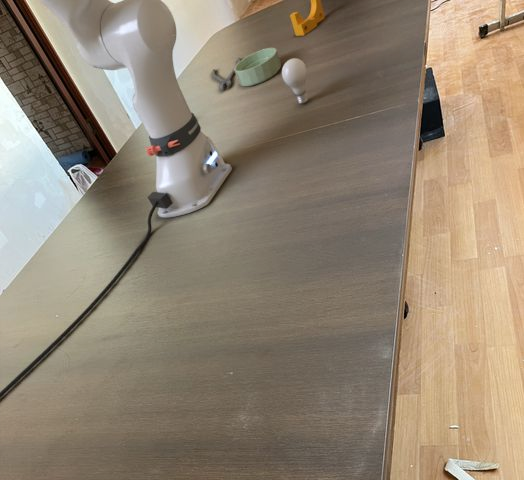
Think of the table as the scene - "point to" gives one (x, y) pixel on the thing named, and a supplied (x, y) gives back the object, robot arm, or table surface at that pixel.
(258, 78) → the bowl
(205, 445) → the table surface
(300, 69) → the lightbulb
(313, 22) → the pipe clamp
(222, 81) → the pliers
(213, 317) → the table surface
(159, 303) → the table surface
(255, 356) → the table surface
